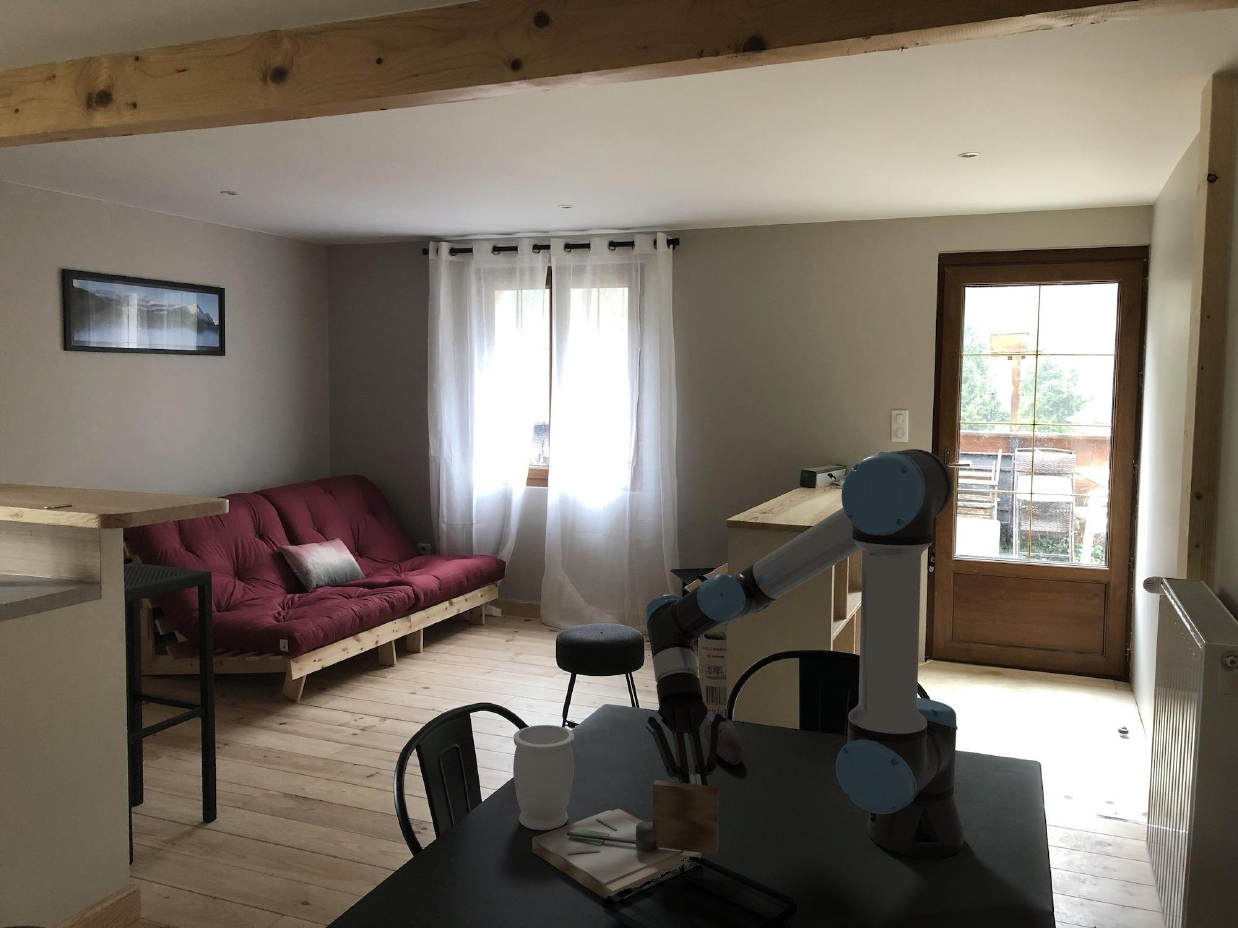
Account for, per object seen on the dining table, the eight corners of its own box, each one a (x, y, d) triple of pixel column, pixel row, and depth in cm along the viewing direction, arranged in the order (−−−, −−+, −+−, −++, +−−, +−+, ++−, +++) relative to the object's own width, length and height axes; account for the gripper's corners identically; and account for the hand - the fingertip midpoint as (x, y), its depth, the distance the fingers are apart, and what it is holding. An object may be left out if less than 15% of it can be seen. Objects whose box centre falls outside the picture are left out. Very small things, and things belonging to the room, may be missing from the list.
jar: (577, 832, 159) (577, 744, 158) (515, 836, 157) (515, 747, 156) (570, 804, 170) (570, 722, 168) (511, 808, 168) (511, 725, 167)
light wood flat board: (701, 864, 149) (701, 848, 149) (612, 904, 137) (613, 887, 137) (618, 819, 164) (618, 805, 164) (532, 851, 152) (532, 836, 152)
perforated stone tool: (749, 770, 186) (750, 735, 185) (723, 772, 185) (724, 737, 184) (726, 742, 200) (727, 709, 200) (702, 743, 199) (702, 711, 199)
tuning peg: (718, 848, 148) (720, 784, 148) (715, 859, 145) (716, 793, 144) (570, 830, 154) (571, 768, 153) (564, 840, 151) (564, 776, 150)
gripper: (710, 689, 168) (735, 824, 153) (636, 691, 166) (654, 829, 151) (719, 668, 162) (746, 806, 147) (643, 671, 160) (662, 812, 145)
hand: (699, 818), depth 149 cm, fingers closed
